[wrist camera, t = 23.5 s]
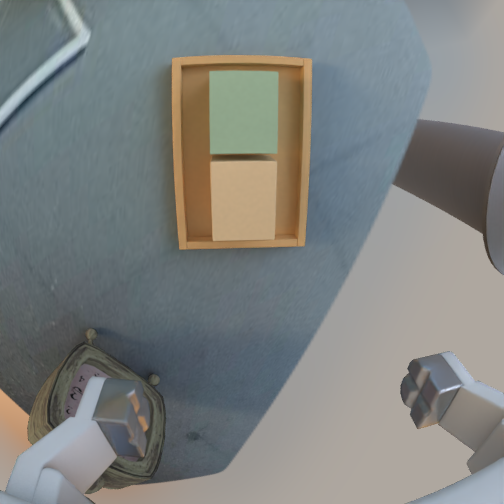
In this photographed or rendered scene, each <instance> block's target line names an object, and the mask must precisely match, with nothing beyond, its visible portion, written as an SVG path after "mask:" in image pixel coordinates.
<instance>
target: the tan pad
mask: <svg viewBox="0 0 504 504" xmlns="http://www.w3.org/2000/svg"><path fill="white" fill-rule="evenodd" d="M210 180H211V212H212V238H213V241H238V240H274V239H275V217H276V183H277V161H276V160H274V159H273V158H272V157H271V156H270V155H221V156H212V159H211V162H210Z"/></svg>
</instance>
